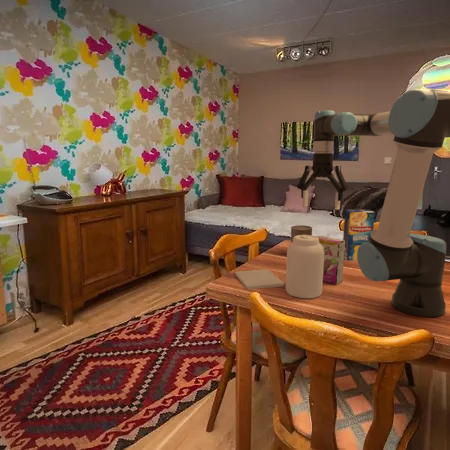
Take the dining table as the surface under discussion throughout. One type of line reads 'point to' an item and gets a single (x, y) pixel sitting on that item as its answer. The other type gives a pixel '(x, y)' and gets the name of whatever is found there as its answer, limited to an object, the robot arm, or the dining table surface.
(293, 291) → the cream jar
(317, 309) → the dining table surface
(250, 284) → the grey mat
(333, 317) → the dining table surface
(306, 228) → the pillar candle
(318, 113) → the robot arm
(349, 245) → the beverage box
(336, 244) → the candy bar box
